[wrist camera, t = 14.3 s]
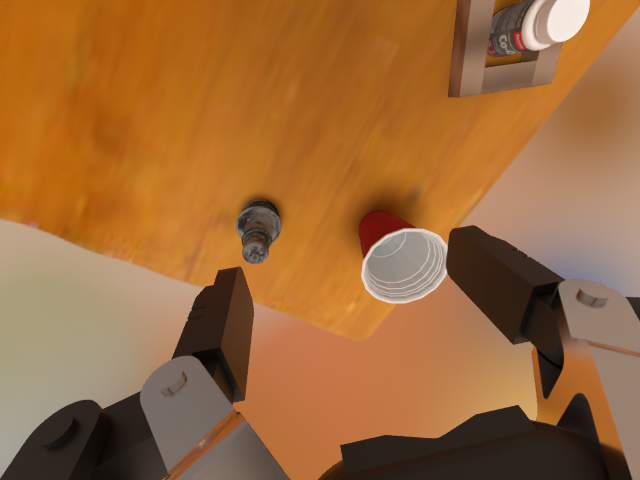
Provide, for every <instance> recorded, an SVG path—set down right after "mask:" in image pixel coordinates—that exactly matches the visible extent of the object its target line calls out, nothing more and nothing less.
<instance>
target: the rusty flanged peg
mask: <svg viewBox="0 0 640 480" xmlns="http://www.w3.org/2000/svg"><path fill="white" fill-rule="evenodd" d="M236 229H237V232H238V234H239V236H240V237H241V238H242V245H243V251H242V254H243V257H244V259H245V260H246V261H247V262H249V263H251V264H259V263H262V262H264V261H265V260H266V259H267V257H268V253H269V248H270V247H271V245H272V242H274V241H275V240H276V239H277V238H278V237H279V234H280V232H281V222H280V219H279V214H278V211H277V208H276V207H275V206H274V205H273V204H272V203H271V202H269V201H267V200H263V199H255V200H252V201H250V202H248V203H247V204H246V205H245V206H244V208H243V210H242V213H241V214H240V215H239V216H238V219H237V222H236Z"/></svg>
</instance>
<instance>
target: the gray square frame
mask: <svg viewBox="0 0 640 480" xmlns="http://www.w3.org/2000/svg"><path fill="white" fill-rule="evenodd" d="M494 4H495V0H458V4H457V13H456V23H455V33H454V42H453V52H452V62H451V72H450V81H449V91H448V97H465V96H471V95H478V94H485V93H492V92H499V91H506V90H512V89H519V88H526V87H533V86H540V85H546V84H552V80H553V77H554V73H555V69H556V65H557V62H558V58H559V54H560V50H561V47H562V43H563V42H559V43H555V44H552V45H550V46H549V47H547V48H545V49H542V50H538V51H531V52H525V53H523V54H522V58H521V63H514V64H507V65H500V66H493V67H486V68H485V62H486V56H487V49H488V43H489V36H490V30H491V24H492V17H493V11H494Z"/></svg>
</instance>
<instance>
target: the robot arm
mask: <svg viewBox="0 0 640 480" xmlns="http://www.w3.org/2000/svg"><path fill="white" fill-rule="evenodd" d="M446 270H447V273H448V275H449V276H450V278H451V279H452V280H453V281H454V282H455V283H456V284H457V285H458V286H459V287H460V289H461V290H462V291H463V292H464V293H465V294H466V295H467V296H468V297H469V298H470V299H471V300H472V301H473V302H474V303H475V304H476V306H477V307H478V308H479V309H480V310H481V311H482V312H483V313H484V314H485V315H486V316H487V317H488V318H489V319H490V321H492V323H493V324H494V325H495V326H496V327H497V328H498V329H499V330H500V331H501V332H502V333H503V334H504V335H505V336H506V337H507V338H508V340H509V341H510V342H511V343H512V344H513V345H514V344H519V343H524V342H529V341H530V342H531V343H532V344H533V345H534V347H533V349H532V363H533V371H534V380H535V388H536V397H537V409H538V410H537V418H536V421H533V420H530V419H529V418H528V417H527V416H526V414H525V413H524V412H523V410H521V408H520V407H519V405H516V406H511V407H507V408H503V409H498V410H494V411H489V412H485V413H481V414H476V415H474V416H473V417H471V418H470V419H468V420H467V421H465V422H464V423H462V424H460V425H459V426H457V427H456V428H454V429H453V430H451V431H450V432H448V433H446V434H445V435H443V436H441V437H439V438H433V439H432V438H418V437H405V436H391V435H383V436H379V437H375V438H370V439H366V440H362V441H357V442H353V443H349V444H344V445H341V446H340V447H341V453H342V458H343V460H341V461H340V462H338V463H337V464H335V465H333V466H332V467H331V468H330V469H329V470H327V471H326V472H325V473H324V474H323V475H322V476H321V477H320V478H319V479H318V480H640V298H639V297H624V296H623V295H621V294H620V293H619V292H617V291H615V290H613V289H611V288H609V287H607V286H605V285H602V284H599V283H596V282H592V281H587V280H579V279H572V280H565V279H563V278H562V277H560V276H559V275H557V274H556V273H554V272H552V271H551V270H549V269H548V268H546V267H545V266H543V265H542V264H540V263H539V262H537V261H535V260H534V259H532V258H531V257H527V255H526V254H525V253H523V252H521V251H520V250H519V251H518V250H517V248H515V247H514V246H512V245H511V244H509V243H508V242H506V241H504V240H501V239H499V238H496V237H493V236H490V235H488V234H487V233H486V232H484V231H482V230H481V229H480V228H478V227H476V226H474V225H471V226H466V227H460V228H455V229H452V230H451V232H450V235H449V241H448V249H447V256H446ZM253 317H254V308H253V301H252V297H251V294H250V291H249V288H248V285H247V282H246V279H245V276H244V273H243V270H242V268H241V267H234V268H228V269H223V270H219V271H218V273H217V276H216V279H215V282H214V285H212V286H206V287H205V288H204V289H203V290H202V291H201V292H200V294H199V295H198V296H197V297H196V299H195V301H194V304H193V306H192V311H191V312H190V314H189V316H188V321H187V322H186V324H185V327H184V329H183V332H182V334H181V337H180V339H179V342H178V344H177V347H176V349H175V352H174V354H173V357H172V359H171V360H170V361H168V362H166V363H164V364H163V365H161V366H160V367H159V368H157V369H156V370H155V371H154V372H153V373H152V374H151V375H150V376H149V378H148V379H147V380H146V382H145V384H144V385H143V387H142V390H141V391H140V392H138V393H136V394H134V395H132V396H130V397H128V398H126V399H123V400H121V401H119V402H117V403H115V404H113V405H111V406H108V407H106V408H104V409H102V408H101V407H100V406H99V405H98V404H97V403H96V402H95V401H93V400H81V401H78V402H74V403H72V404H70V405H67V406H65V407H64V408H62V409H60V410H59V411H57V412H55V413H54V414H53V415H52V416H50V417H49V418H47V419H46V420H45V421H44V422H43V423H41V424H40V425H39V426H38V427H37V428H36V429H35V430H34V432H33V433H32V434H31V435H30V436H29V437H28V439H27V440H26V441H25V443H24V444H23V446H22V447H21V449H20V450H19V452H18V453H17V455H16V456H15V458H14V459H13V461H12V462H11V464H10V465H9V466H8V468H7V469H6V471H5V472H4V474H3V476H2V477H1V478H0V480H162V479H163V478H165V477H167V476H168V477H167V478H166V479H165V480H290V479H289V477H288V476H287V475H286V473H285V472H284V470H283V469H282V468H281V466H280V465H279V464H278V463H277V461H276V460H275V458H274V457H273V456H272V454H271V453H270V451H269V450H268V449H267V447H266V446H265V445H264V443H263V442H262V441H261V439H260V438H259V436H258V435H257V434H256V432H255V431H254V430H253V429H252V427H251V426H250V424H249V423H248V422H247V420H246V419H245V418H244V416H243V415H242V414H241V413H240V412H238V413H237V411H236V410H235V409H234V408H233V406H232V405H233V403H234V402H239V401H244V400H245V394H246V383H247V374H248V364H249V355H250V345H251V336H252V326H253Z"/></svg>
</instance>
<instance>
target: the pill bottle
mask: <svg viewBox="0 0 640 480" xmlns="http://www.w3.org/2000/svg"><path fill="white" fill-rule="evenodd" d="M589 6H590V0H525V1H522V2H519V3H516V4H514V5H511V6H508V7H506V8H503V9H501V10H500V11H499V12H497V13H496V14H495V15H494V16H493V18H492V24H491V30H490V36H489V43H488V49H487V51H488V53H489V54H491V55H492V56H496V57H500V56H506V55H512V54H519V53H525V52H531V51H538V50H542V49H545V48H547V47H549V46H550V45H552V44H555V43H559V42H563V41H566V40H568V39H570V38H571V37H573V36H574V35H575V34H576V33H577V32H578V31H579V29H580V28H581V27H582V25H583V24H584V22H585V20H586V18H587V15H588V12H589Z"/></svg>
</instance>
